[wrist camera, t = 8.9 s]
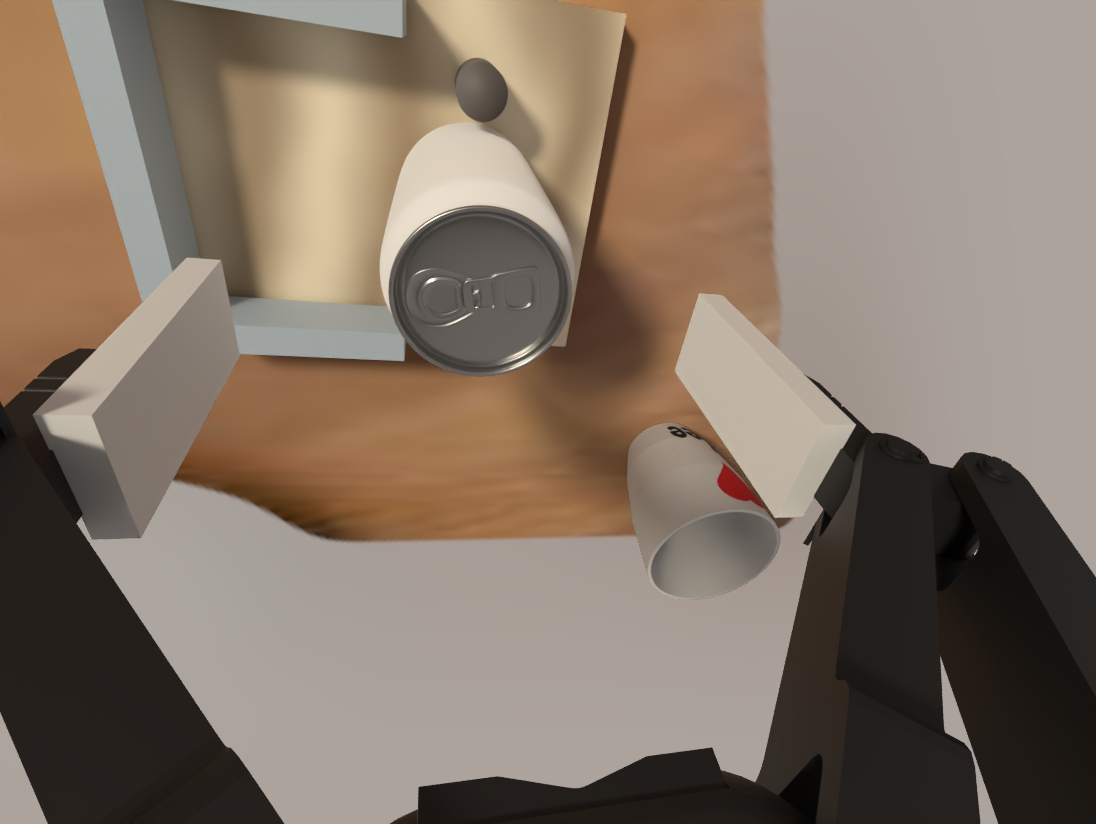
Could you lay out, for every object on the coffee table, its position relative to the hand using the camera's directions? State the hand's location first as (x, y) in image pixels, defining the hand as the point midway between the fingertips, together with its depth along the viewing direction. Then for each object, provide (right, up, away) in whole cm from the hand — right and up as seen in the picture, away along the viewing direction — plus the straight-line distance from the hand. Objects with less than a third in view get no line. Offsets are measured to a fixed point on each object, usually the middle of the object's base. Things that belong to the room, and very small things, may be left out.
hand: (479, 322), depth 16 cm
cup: (+10, -5, +25) cm, 27 cm away
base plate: (-6, +9, +11) cm, 15 cm away
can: (-2, +8, +11) cm, 14 cm away
